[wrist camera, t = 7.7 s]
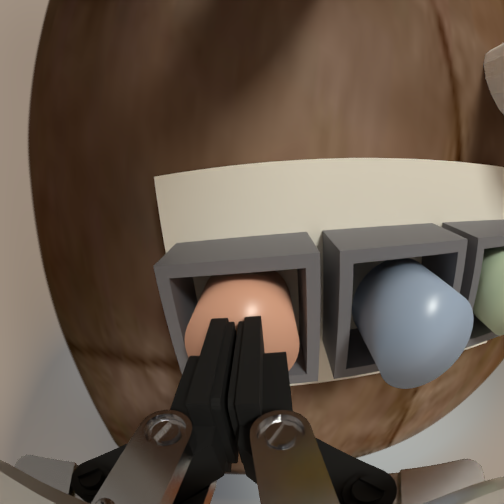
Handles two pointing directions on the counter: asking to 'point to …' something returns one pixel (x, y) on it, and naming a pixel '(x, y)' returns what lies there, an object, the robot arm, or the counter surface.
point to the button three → (491, 291)
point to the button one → (247, 310)
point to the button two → (411, 322)
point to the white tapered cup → (495, 74)
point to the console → (325, 240)
